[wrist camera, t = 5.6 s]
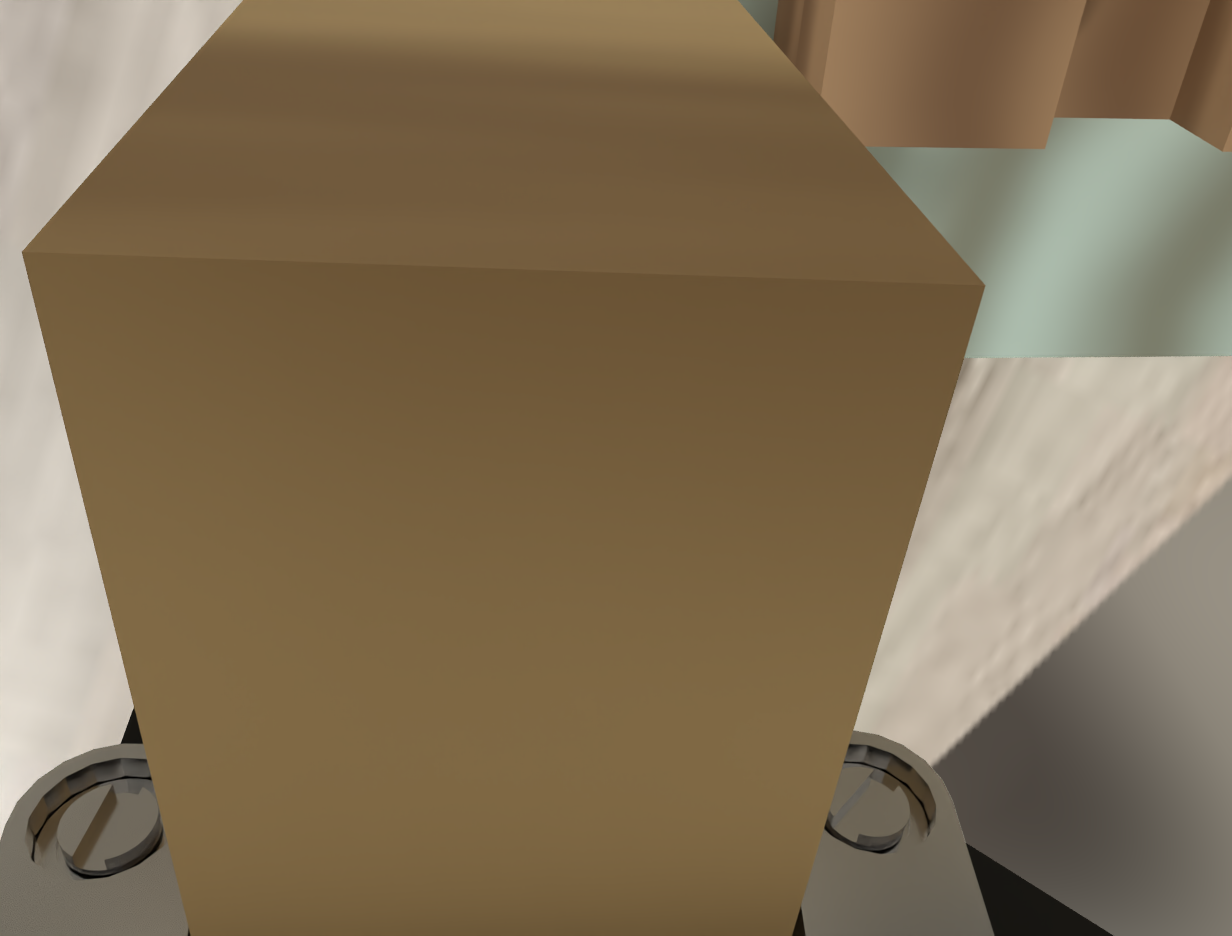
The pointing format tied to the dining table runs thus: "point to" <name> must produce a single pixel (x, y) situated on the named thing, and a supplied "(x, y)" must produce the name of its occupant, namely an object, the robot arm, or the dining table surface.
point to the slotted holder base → (1049, 155)
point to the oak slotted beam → (497, 459)
